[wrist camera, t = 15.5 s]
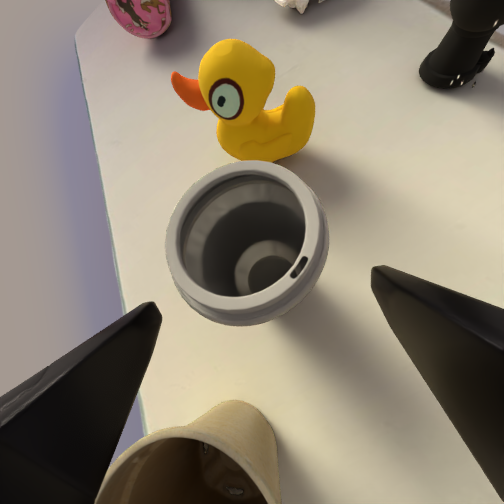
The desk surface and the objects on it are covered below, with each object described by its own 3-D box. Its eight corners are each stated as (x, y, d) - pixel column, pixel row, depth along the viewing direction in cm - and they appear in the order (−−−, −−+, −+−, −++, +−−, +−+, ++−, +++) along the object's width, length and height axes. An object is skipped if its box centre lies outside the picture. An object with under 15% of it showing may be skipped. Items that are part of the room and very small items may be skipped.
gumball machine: (480, 100, 20) (647, -93, 10) (409, 101, 21) (498, -68, 12) (478, 50, 21) (622, -157, 12) (412, 54, 23) (493, -126, 14)
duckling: (207, 176, 24) (150, 85, 14) (215, 138, 25) (167, 33, 16) (310, 173, 21) (321, 61, 12) (312, 131, 23) (323, 1, 13)
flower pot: (268, 357, 17) (244, 396, 9) (325, 503, 14) (368, 772, 6) (168, 400, 18) (60, 472, 10) (200, 550, 14) (78, 851, 6)
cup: (280, 337, 17) (251, 378, 6) (221, 290, 19) (120, 257, 8) (326, 268, 18) (376, 192, 7) (265, 230, 20) (227, 126, 9)
